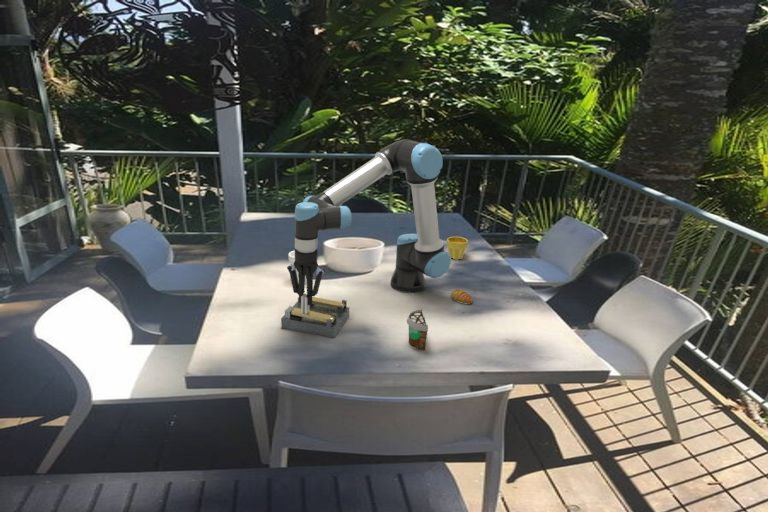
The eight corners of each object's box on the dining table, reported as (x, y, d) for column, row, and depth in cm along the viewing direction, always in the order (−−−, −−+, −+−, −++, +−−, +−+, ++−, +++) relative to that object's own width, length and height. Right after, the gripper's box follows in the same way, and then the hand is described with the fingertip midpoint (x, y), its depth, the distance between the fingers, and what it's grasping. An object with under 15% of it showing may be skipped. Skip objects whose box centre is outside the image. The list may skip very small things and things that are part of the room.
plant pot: (443, 259, 244) (444, 240, 240) (448, 252, 253) (450, 235, 249) (463, 263, 240) (465, 244, 237) (467, 256, 249) (469, 238, 246)
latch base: (349, 316, 183) (349, 300, 180) (334, 338, 168) (334, 320, 165) (300, 308, 187) (299, 292, 185) (281, 328, 172) (280, 311, 169)
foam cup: (306, 287, 205) (306, 259, 200) (285, 284, 206) (285, 256, 202) (313, 279, 213) (313, 251, 209) (294, 276, 215) (293, 249, 210)
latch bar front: (335, 319, 170) (335, 316, 169) (332, 323, 167) (332, 319, 167) (294, 310, 173) (295, 306, 172) (291, 314, 170) (291, 310, 170)
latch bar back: (345, 306, 180) (345, 302, 179) (342, 310, 177) (343, 306, 177) (307, 299, 183) (307, 295, 183) (303, 302, 180) (304, 298, 180)
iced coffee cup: (403, 333, 173) (405, 308, 169) (420, 333, 173) (422, 308, 170) (407, 352, 161) (409, 326, 158) (425, 352, 162) (428, 326, 158)
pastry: (476, 303, 199) (477, 294, 198) (464, 307, 195) (465, 298, 194) (459, 294, 206) (460, 286, 205) (448, 298, 202) (449, 290, 201)
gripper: (329, 248, 164) (327, 310, 172) (292, 242, 167) (291, 304, 175) (321, 255, 157) (319, 320, 165) (282, 249, 160) (282, 313, 168)
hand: (305, 311), depth 170 cm, fingers closed, pressing on latch bar front
